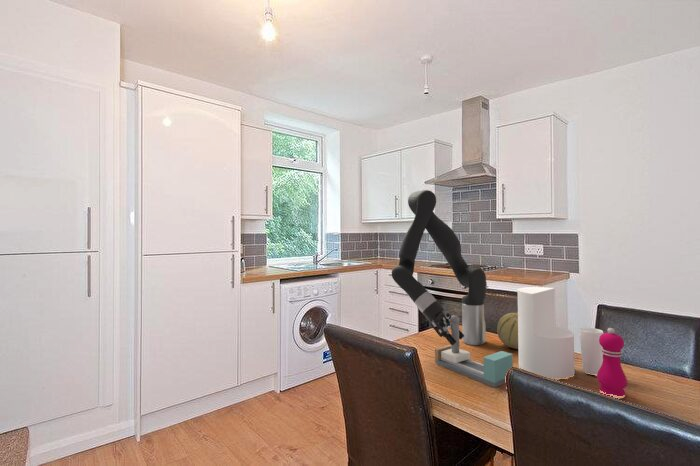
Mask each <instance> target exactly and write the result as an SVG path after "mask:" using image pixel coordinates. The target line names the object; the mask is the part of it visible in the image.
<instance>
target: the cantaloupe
mask: <svg viewBox="0 0 700 466" xmlns="http://www.w3.org/2000/svg"><path fill="white" fill-rule="evenodd" d="M496 332H497V335H498V338H499V340H500V341H501V342H502V343H503V344H504V345H505V346H506V347H508V348H511V349H515V350H518V312H508V313H506V314H504V315H503V316H502V317H501V318H500V319H499V320H498V322H497V326H496Z"/></svg>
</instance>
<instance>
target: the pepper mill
mask: <svg viewBox="0 0 700 466" xmlns="http://www.w3.org/2000/svg"><path fill="white" fill-rule="evenodd" d="M615 332H616V330H615V329H614V328H612V327H608V328H607V332H603V334H602V335H601V336H600V337H599V343H600V345H601V346H602V347H603V348H601V350H602V351H601V353H602V354H603V360H602V365H601V367H600V369H599V371H598V374H597V376H596V380H597V381H598V382H597V383H598V384H600V385H599V386H598V390H599V389H600V390H601V391H603V392H604V393H605V392H606V394H613V395H617V396H623V395H625V396H626V391H625V389H626V387H627V386H628V379H627V377H626V374H625V372H624V369H623V368H622V365H621V357H623V351H622V349H623V348H624V347H625V342H624V339H623V337H621V335H619V334H617V333H615ZM602 394H603V393H600V395H602ZM606 394H604V395H606ZM607 396H610V395H607ZM611 397H613V396H611ZM616 400H619V399H618V398H617V399H616Z"/></svg>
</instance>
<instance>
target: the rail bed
mask: <svg viewBox="0 0 700 466" xmlns="http://www.w3.org/2000/svg"><path fill="white" fill-rule="evenodd" d="M451 348H452V345H451V344H450V343H449V344H446V345H443V346H440V347H436V348H434V362H435V363H434V364H436V365H439V366H441V367H443V368H446V369H448V370H451V371H453V372H455V373H458V374H461V375H463V376H466V377H468V378H471V379H472V380H476V381H477V382H480V383H483V384H485V385H487V386H490V387H492V388H497V387H500V386H501V385H504V384H506V383H505V376H506V373H507V371H508V370H509V369H510V368H511V367H513V368H514V366H513V365H514V364H513V354H512V353H510V352H507V351H503V350H500V351H497V352H495V353H492V354H489V355H488V354H487V355H485V356H483V359H482V360H483V363H480V362H478V361H475V360H472V359H471V358H470V359H467V360H464V361H461V362H458V363H454V362H452V361H449V360H446V359H444V358H441V351H444V350H448V349H451Z"/></svg>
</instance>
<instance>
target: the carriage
mask: <svg viewBox="0 0 700 466" xmlns="http://www.w3.org/2000/svg"><path fill="white" fill-rule="evenodd" d="M460 319H461V318H460V317H459V316H458V315H456V314H454V315H453V314H452V315H451V318H450V321H451V329H450V331H451V332H450V334H451V335H452V337H453V338H454V339H455V340H456V343H455V344H454V345H452V348H451V349H448V350H444V351H441V358H444V359H446V360H449V361H452V362H454V363H458V362H461V361H464V360H467V359H470V360H471V352H470V351H467V350H465V349H461V348H460V339H459V330H460V321H461V320H460Z"/></svg>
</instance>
